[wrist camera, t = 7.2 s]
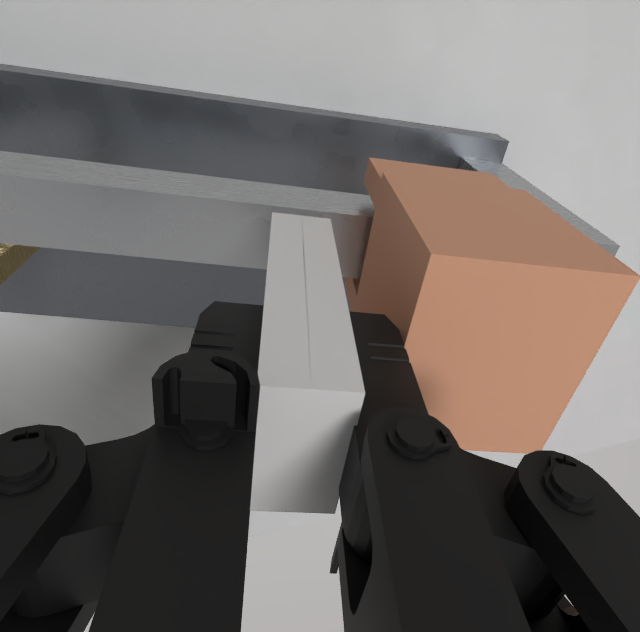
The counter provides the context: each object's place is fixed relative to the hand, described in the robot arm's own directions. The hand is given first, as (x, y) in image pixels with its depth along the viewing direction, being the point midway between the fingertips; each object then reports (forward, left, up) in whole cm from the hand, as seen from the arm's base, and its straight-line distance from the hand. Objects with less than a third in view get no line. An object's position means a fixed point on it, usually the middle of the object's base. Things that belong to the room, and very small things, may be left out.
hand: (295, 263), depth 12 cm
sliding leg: (+4, -1, -11) cm, 11 cm away
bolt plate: (-3, -4, -12) cm, 13 cm away
